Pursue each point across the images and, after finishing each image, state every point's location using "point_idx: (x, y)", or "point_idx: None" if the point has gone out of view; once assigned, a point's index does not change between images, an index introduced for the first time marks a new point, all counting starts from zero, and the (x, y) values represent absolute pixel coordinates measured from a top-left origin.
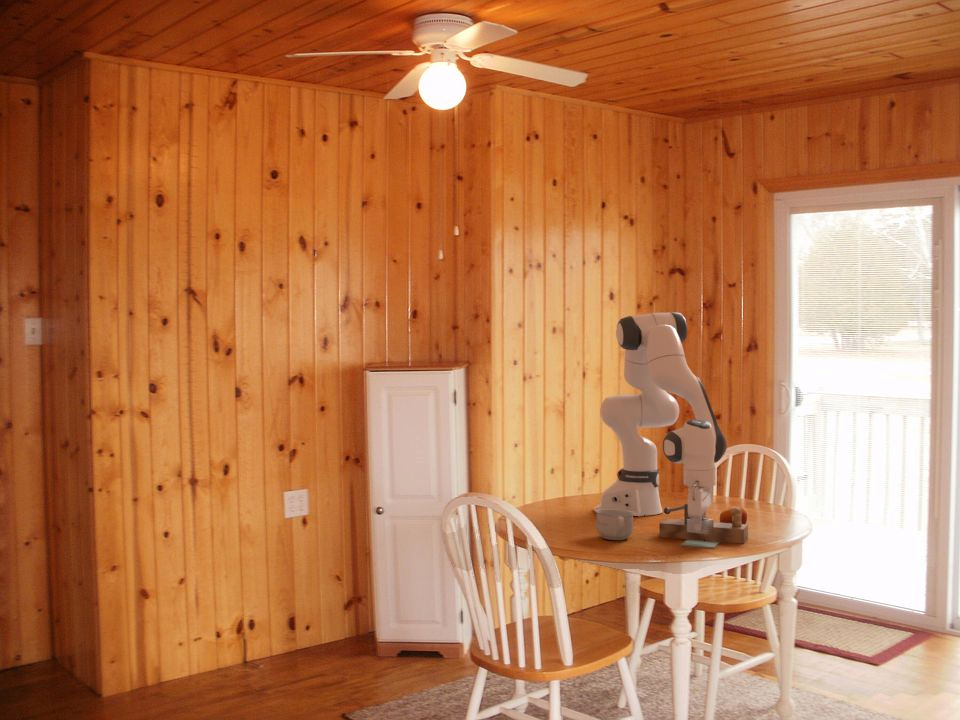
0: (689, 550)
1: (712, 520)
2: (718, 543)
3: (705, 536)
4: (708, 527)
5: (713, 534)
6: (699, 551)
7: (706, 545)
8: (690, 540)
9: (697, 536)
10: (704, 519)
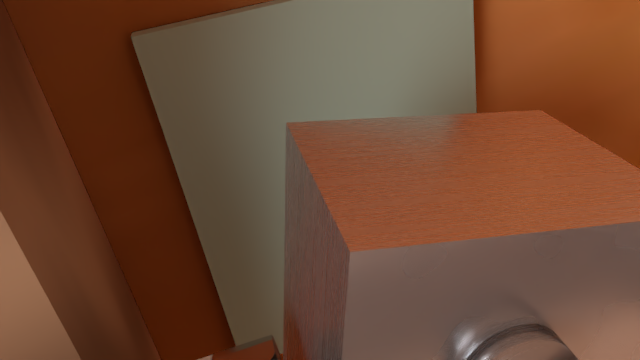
0: (614, 149)
1: (403, 230)
2: (170, 25)
3: (101, 263)
4: (553, 154)
5: (51, 187)
6: (631, 49)
7: (421, 82)
8: (271, 321)
9: (135, 335)
10: (561, 341)
